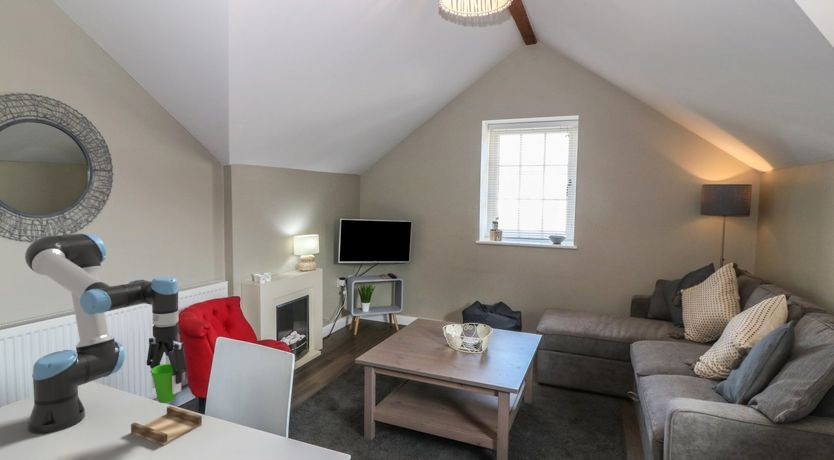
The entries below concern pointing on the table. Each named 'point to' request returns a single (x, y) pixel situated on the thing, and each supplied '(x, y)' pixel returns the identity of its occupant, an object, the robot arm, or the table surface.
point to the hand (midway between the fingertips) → (166, 389)
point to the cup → (163, 382)
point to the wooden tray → (168, 426)
